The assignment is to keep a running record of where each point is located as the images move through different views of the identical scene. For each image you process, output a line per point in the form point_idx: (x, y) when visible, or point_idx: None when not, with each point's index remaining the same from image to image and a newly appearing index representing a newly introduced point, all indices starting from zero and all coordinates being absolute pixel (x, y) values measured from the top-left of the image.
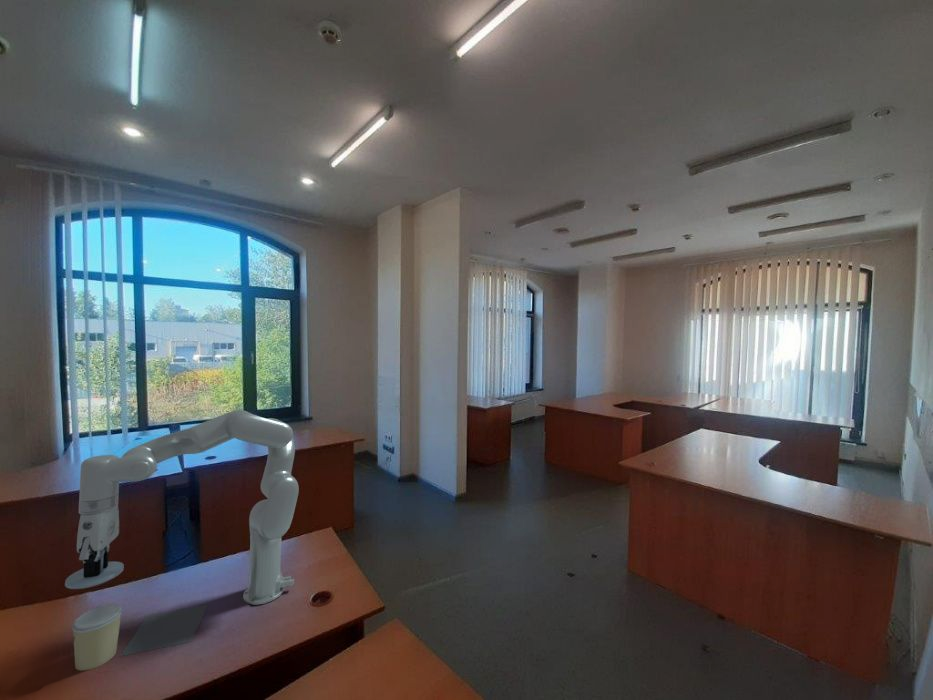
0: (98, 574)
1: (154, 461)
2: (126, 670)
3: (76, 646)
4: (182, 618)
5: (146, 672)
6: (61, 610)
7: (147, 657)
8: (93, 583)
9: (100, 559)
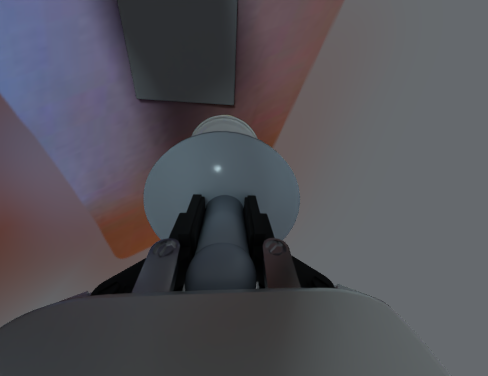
0: (255, 197)
1: None
2: (265, 84)
3: None
4: (154, 16)
5: (283, 47)
6: (107, 223)
7: (247, 59)
8: (297, 188)
9: (256, 235)
